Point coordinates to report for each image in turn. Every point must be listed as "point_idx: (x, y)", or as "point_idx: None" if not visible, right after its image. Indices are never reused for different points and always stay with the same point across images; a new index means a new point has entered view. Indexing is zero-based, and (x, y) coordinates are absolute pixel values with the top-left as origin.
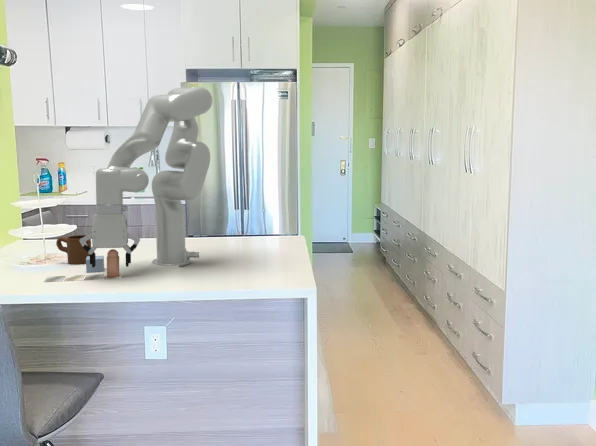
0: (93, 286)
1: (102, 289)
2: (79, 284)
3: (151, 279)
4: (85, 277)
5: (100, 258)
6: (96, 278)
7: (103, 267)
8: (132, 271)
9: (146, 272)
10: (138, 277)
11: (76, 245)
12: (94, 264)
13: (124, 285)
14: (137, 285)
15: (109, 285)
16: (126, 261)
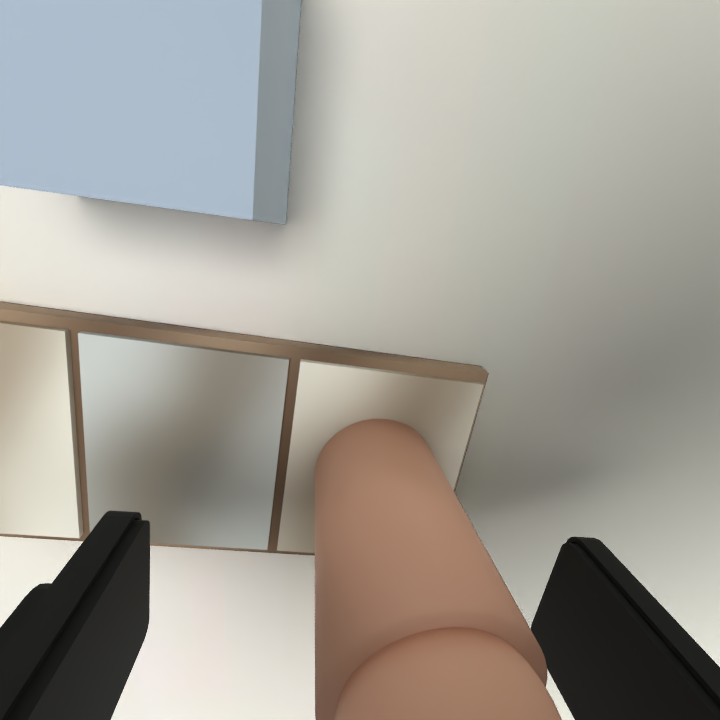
0: (202, 629)
1: (270, 700)
2: None
3: (643, 556)
4: (89, 446)
5: (197, 150)
6: (211, 511)
7: (282, 150)
8: (612, 212)
9: (713, 316)
10: (580, 475)
11: None
12: (130, 671)
13: None
14: None
15: None
16: (575, 706)
